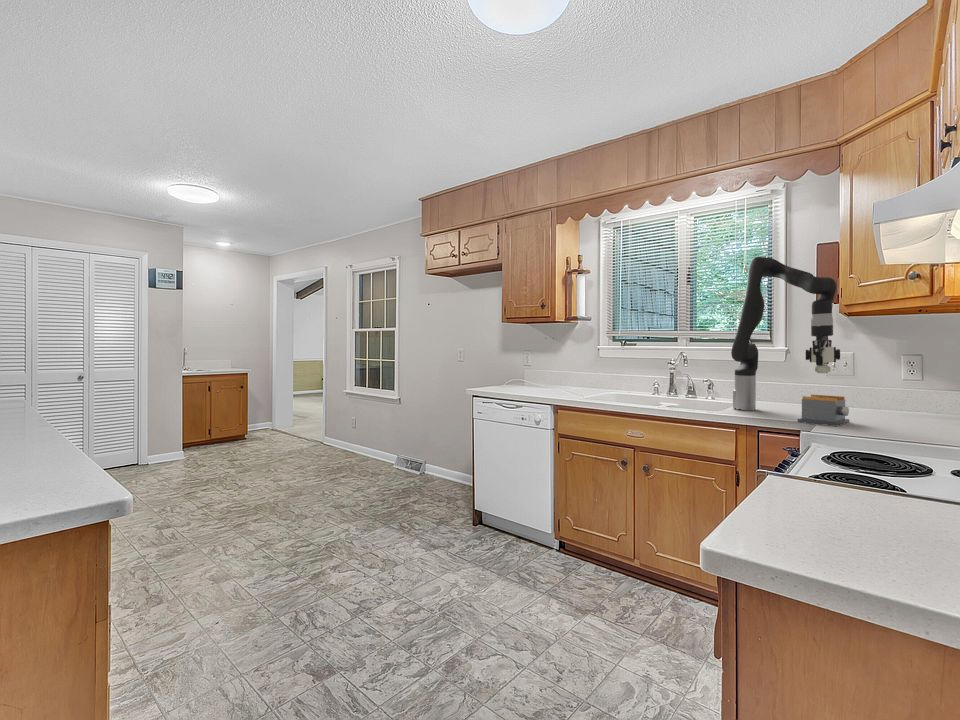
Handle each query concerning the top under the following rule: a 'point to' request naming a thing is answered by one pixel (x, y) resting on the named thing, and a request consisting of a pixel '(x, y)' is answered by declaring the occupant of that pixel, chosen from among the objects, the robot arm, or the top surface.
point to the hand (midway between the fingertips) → (822, 364)
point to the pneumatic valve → (824, 358)
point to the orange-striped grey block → (824, 410)
